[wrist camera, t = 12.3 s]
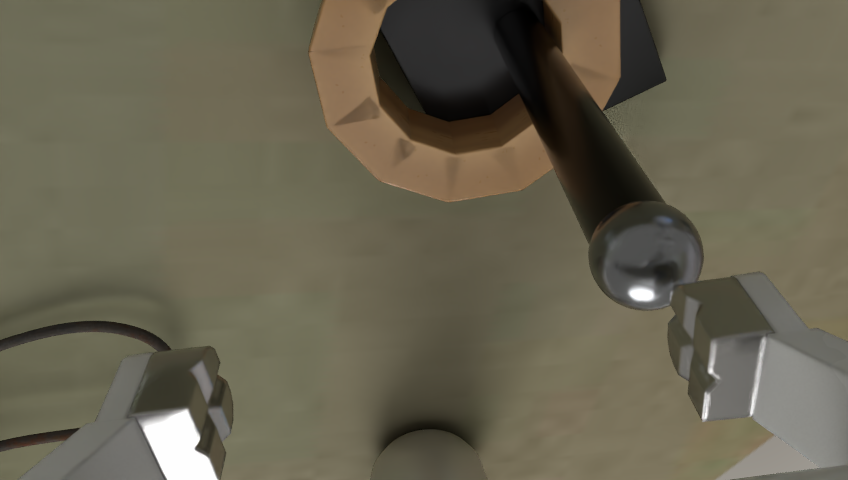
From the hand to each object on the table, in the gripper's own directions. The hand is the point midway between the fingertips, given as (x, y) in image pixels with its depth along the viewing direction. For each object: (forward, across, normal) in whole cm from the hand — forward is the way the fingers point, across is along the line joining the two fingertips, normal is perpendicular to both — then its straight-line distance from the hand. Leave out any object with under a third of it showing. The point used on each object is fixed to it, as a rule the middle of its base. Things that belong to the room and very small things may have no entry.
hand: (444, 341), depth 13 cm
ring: (+17, -2, 0) cm, 17 cm away
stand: (+18, -4, 0) cm, 19 cm away
